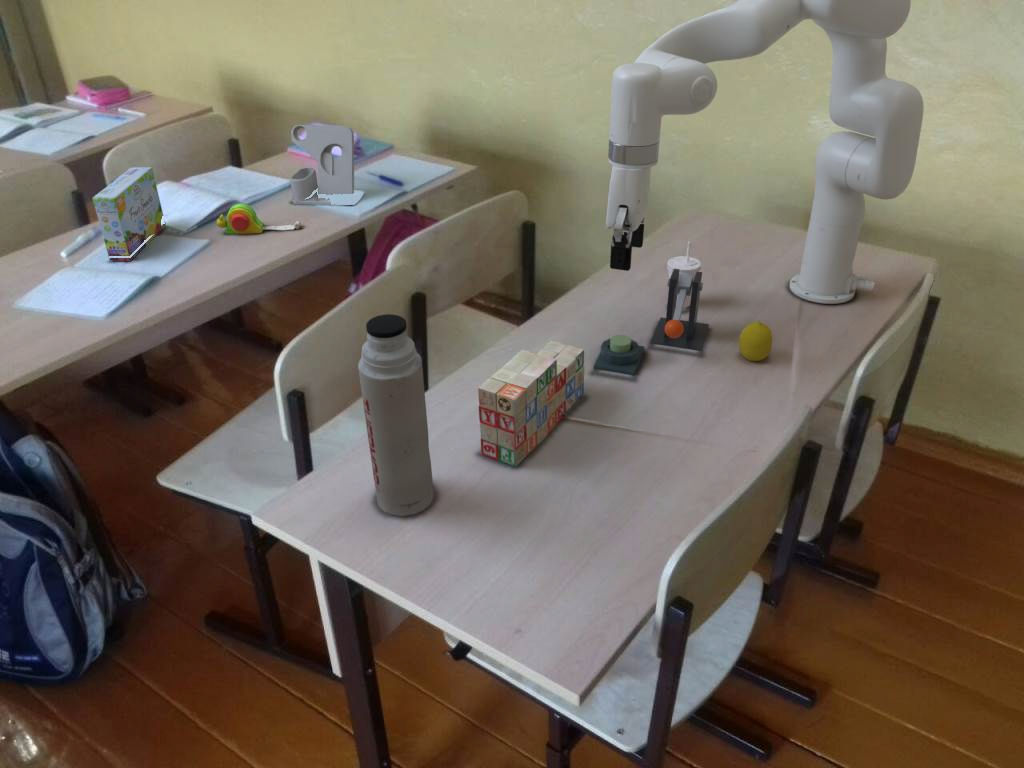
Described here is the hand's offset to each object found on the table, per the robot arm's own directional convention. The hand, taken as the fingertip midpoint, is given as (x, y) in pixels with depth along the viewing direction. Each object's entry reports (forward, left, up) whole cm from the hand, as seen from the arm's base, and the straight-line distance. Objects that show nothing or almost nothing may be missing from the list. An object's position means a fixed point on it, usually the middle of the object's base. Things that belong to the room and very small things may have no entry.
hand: (626, 257), depth 134 cm
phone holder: (+92, -58, -21) cm, 111 cm away
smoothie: (-6, -24, -21) cm, 32 cm away
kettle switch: (-8, -8, -13) cm, 17 cm away
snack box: (+120, -19, -21) cm, 123 cm away
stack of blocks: (+9, +22, -21) cm, 31 cm away
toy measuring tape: (+97, -34, -21) cm, 104 cm away
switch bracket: (-8, -12, -20) cm, 25 cm away
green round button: (0, 0, -17) cm, 17 cm away
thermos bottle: (+21, +44, -21) cm, 53 cm away
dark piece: (0, 0, -20) cm, 20 cm away
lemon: (-22, -8, -21) cm, 31 cm away
